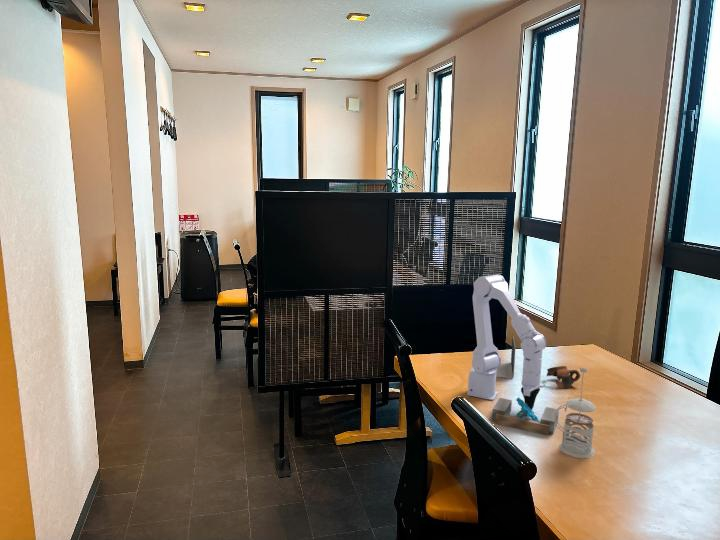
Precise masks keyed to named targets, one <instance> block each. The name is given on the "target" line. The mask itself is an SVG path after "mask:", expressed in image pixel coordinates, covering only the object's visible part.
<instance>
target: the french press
mask: <svg viewBox="0 0 720 540" xmlns="http://www.w3.org/2000/svg"><path fill="white" fill-rule="evenodd" d="M580 372H581V373H582V376H581V377H582V378H581V388H580V390H581V391H580V398H570V399H567V400H566V401H565V404H564V405H560V406H559V407H558V408H556V409H557V411H558V410H559V411H560V410H561V409H564V412H567V411H568V410H567V408H569V409H571V410H573V411H577V412H571V413H567V414H566V416H565V417H566V418H565V421H564V426H562V425H560V423H559V420H558V421H557V418H556V414H557V411H556V413H555V415H554V421H555V418H556V421H557V424H556V421H555V424H556V427H557V428H558V429H559V430H560V431H561V432H562V442H560V443H559V445H558V449H559V450H560V451H561V452H562V453H563V454H565V453H566V454H565V455H568V456H570V455H571V456H570V457H572V456H573V458H577V459H589V457H590V458H592V457H594V456H595V455H596V453H595V452H596V451H595V449H594V448H593V446H592V445H593V437H594V424H593V423H594V420H593V418H592V417H591V416H589V415H587V414H584V413H592V412H594V411H595V410H596V407H597V406H596V405H595V404H594V403H593V402H591V401H589V400H587V399H584V398H583V397H582V396H583V395H582V394H583V384H584V373H587V372H588V369H587V368H586V367H584V366H583V367H580V368H579V373H580ZM578 426H579V427H578ZM585 426H586V427H585ZM577 434H578V435H577Z"/></svg>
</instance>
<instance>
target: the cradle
mask: <svg viewBox="0 0 720 540" xmlns="http://www.w3.org/2000/svg"><path fill="white" fill-rule="evenodd" d="M512 402H513V400H511V399H507V398H503V397H499V398H498V400H497V402H496V403H495V404H494V406H493V408H491V410H492V411H491V421H492V422H494V423H495V424H497V425H501V426H505V427H510V428H514V429H519V430H524V431H527V432H532V433H537V434H542V435H544V436H545V435H546V436H548V434H552V435H553V434H554V433H555V430H556V427H557V426H556V424H557V421H558V422H559V414H560V413H559V411H560V409H559V410H558V411H557V409H558V408H554V407H548V406H546V407H545V408H544V411H543V413H542V415H541V417H540V422H538V421H533V420H532V419H528V418H523V417H522V418H519V417H518V416H513V415H510V414H511V412H512V405H513V404H512ZM556 411H557V414H556V418H557V421H556V418H555V421H556V424H555V421H554V415H555V413H556ZM557 425H558V424H557Z"/></svg>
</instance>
